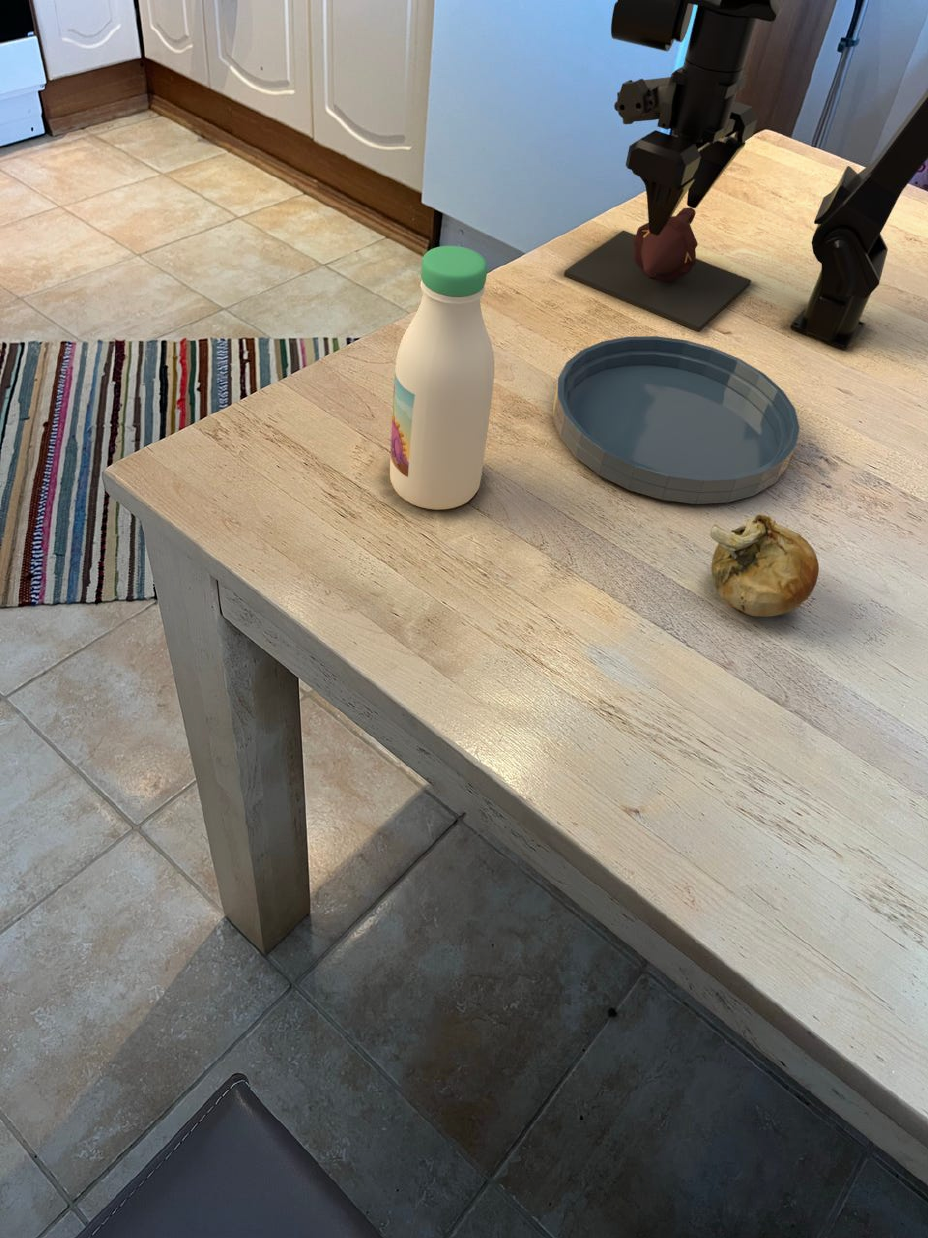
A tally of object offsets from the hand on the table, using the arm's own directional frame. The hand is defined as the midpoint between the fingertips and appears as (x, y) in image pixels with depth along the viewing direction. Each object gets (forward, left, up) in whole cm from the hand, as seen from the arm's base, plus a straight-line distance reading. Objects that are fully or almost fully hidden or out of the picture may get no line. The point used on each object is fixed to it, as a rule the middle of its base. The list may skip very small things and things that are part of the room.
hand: (673, 219), depth 103 cm
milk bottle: (+46, +2, -7) cm, 47 cm away
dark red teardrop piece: (0, 0, -7) cm, 7 cm away
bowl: (+25, +14, -7) cm, 30 cm away
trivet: (0, 0, -7) cm, 7 cm away
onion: (+41, +29, -7) cm, 51 cm away
